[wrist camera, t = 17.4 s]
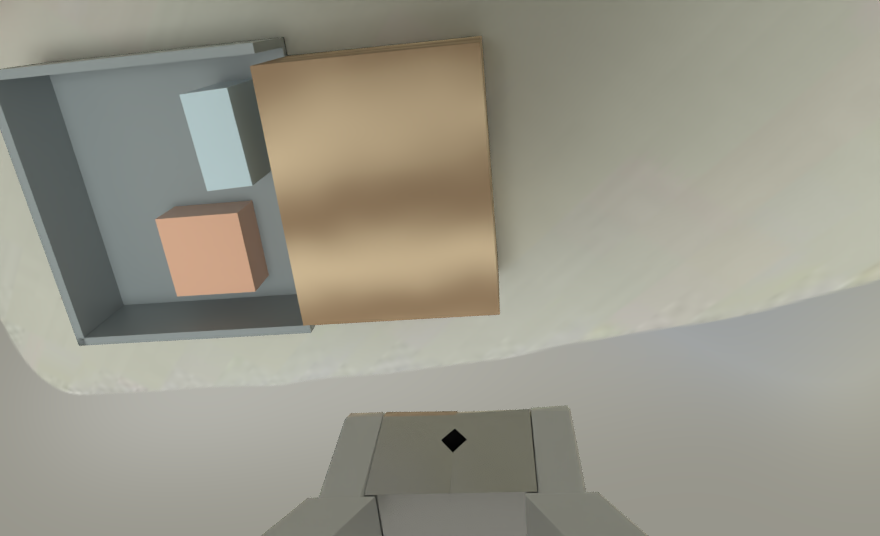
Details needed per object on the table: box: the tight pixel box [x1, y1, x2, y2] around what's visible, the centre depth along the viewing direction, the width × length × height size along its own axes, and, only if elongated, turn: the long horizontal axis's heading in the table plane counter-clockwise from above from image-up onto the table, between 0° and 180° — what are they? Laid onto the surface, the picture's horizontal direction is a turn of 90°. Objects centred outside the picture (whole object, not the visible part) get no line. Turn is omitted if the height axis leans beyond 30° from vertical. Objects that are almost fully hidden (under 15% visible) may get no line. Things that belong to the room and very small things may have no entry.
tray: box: [0, 37, 315, 346], centre depth 37 cm, size 16×14×5 cm
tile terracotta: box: [155, 200, 269, 297], centre depth 39 cm, size 5×5×2 cm
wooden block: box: [250, 36, 500, 326], centre depth 35 cm, size 14×11×6 cm
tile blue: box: [180, 78, 271, 191], centre depth 35 cm, size 5×5×2 cm
